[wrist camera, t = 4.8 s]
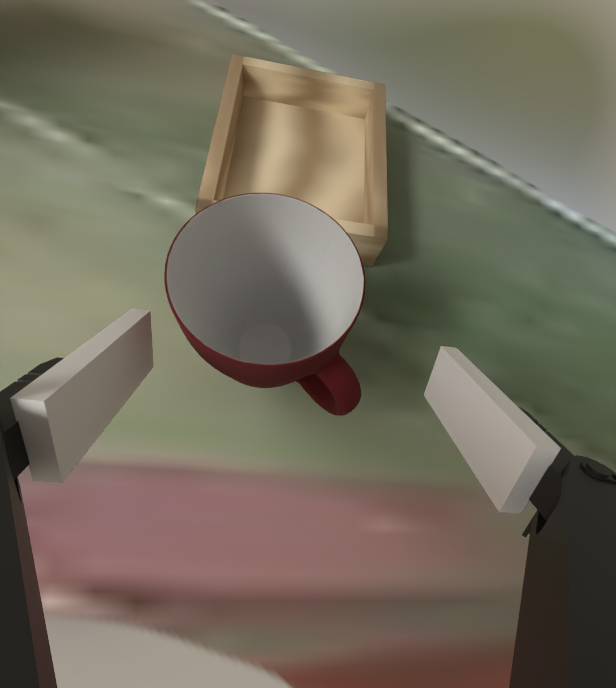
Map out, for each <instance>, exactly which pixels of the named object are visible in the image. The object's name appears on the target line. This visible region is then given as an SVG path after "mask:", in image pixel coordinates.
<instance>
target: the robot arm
mask: <svg viewBox="0 0 616 688" xmlns="http://www.w3.org/2000/svg"><path fill="white" fill-rule="evenodd" d="M152 368H153V351H152V332H151V314H150V311H148V310H140V309H130V310H129V311H128V312H126V313H125V314H123V315H122V316H121V317H119V318H118V319H117V320H115V321H114V322H113V323H111V324H110V325H109V326H107V327H106V328H104V329H103V330H102V331H100V332H99V333H98V334H96V335H95V336H94V337H92V338H91V339H90V340H88V341H87V342H85V343H84V344H83V345H81V346H80V347H79V348H77V349H76V350H75V351H73V352H72V353H71V354H69V355H68V356H67V357H65V358H55V359H52V360H50V361H47V362H45V363H42V364H40V365H38V366H37V367H35V368H34V369H33V370H31V371H30V372H28V374H27V375H26V374H25V375H24V376H22V377H21V378H20V379H18V381H17V382H14V383H12V384H11V385H9V386H8V387H7V388H5V389H4V390H2V391H1V392H0V688H57V684H56V678H55V673H54V667H53V662H52V657H51V652H50V646H49V640H48V635H47V630H46V624H45V619H44V613H43V608H42V602H41V597H40V592H39V586H38V581H37V575H36V570H35V564H34V559H33V554H32V548H31V543H30V537H29V532H28V527H27V521H26V516H25V510H24V505H23V499H22V494H21V489H20V484H19V481H18V477H17V476H18V475H19V474H20V473H21V472H22V471H23V470H24V469H25V468H26V467H27V466H28V465H29V468H30V472H31V476H32V479H33V481H44V482H59V483H63V481H64V480H65V479H66V477H67V476H68V475H69V474H70V472H71V471H72V470H73V469H74V467H75V466H76V465H77V463H78V462H79V461H80V460H81V458H82V457H83V456H84V455H85V453H86V452H87V451H88V449H89V448H90V447H91V446H92V444H93V443H94V442H95V441H96V439H97V438H98V437H99V435H100V434H101V433H102V432H103V430H104V429H105V428H106V427H107V425H108V424H109V423H110V421H111V420H112V419H113V418H114V416H115V415H116V414H117V413H118V411H119V410H120V409H121V407H122V406H123V405H124V404H125V402H126V401H127V400H128V399H129V397H130V396H131V395H132V393H133V392H134V391H135V390H136V388H137V387H138V386H139V385H140V383H141V382H142V381H143V379H144V378H145V377H146V376H147V374H148V373H149V372H150V371H151V369H152ZM424 396H425V398H426V399H427V401H428V402H429V404H430V406H431V407H432V409H433V410H434V412H435V413H436V415H437V416H438V418H439V420H440V421H441V423H442V424H443V426H444V427H445V429H446V431H447V432H448V434H449V435H450V437H451V438H452V440H453V441H454V443H455V445H456V446H457V448H458V449H459V451H460V452H461V454H462V455H463V457H464V459H465V460H466V462H467V463H468V465H469V466H470V468H471V469H472V471H473V473H474V474H475V476H476V477H477V479H478V480H479V482H480V483H481V485H482V487H483V488H484V490H485V491H486V493H487V494H488V496H489V497H490V499H491V501H492V502H493V504H494V505H495V507H496V508H497V510H498V511H499V512H502V513H516V514H521V513H522V512H523V510H524V508H525V507H526V505H527V503H528V502H529V500H530V501H531V502H532V504H533V505H534V506H535V507H536V509H537V512H536V513H535V515H534V516H533V518H532V520H531V521H530V523H529V524H528V526H527V527H526V529H525V531H524V532H523V534H522V535H523V536H524V537H526V536H527V535H528V534H529V533H530V538H529V546H528V553H527V560H526V568H525V575H524V582H523V590H522V597H521V605H520V612H519V619H518V627H517V634H516V641H515V649H514V656H513V663H512V671H511V678H510V686H509V688H616V473H615V472H613V471H612V470H611V469H609V468H608V467H606V466H605V465H603V464H601V463H599V462H597V461H595V460H592V459H589V458H587V457H582V456H574V455H573V454H572V453H570V452H569V451H568V450H567V449H566V448H565V447H564V446H563V445H562V444H561V443H560V442H559V441H558V440H557V439H556V438H555V437H554V436H552V435H551V434H550V433H549V432H547V431H546V429H545V428H544V427H543V426H542V425H541V424H538V421H537V420H535V419H534V418H533V417H532V416H531V415H530V414H529V413H528V412H526V411H525V410H523V409H522V408H520V407H518V406H517V405H515V404H514V403H513V402H512V401H511V400H510V399H509V398H508V397H507V396H506V395H505V394H504V393H503V392H502V391H501V390H500V389H499V388H498V387H497V386H496V385H495V384H494V383H493V382H492V381H490V380H489V379H488V378H487V377H486V376H485V375H484V374H483V373H482V372H481V371H480V370H479V369H478V368H477V367H476V366H475V365H474V364H473V363H472V362H471V361H470V360H469V359H468V358H467V357H465V356H464V355H463V354H462V353H461V352H460V351H459V350H458V349H457V348H454V347H446V346H441V347H440V350H439V353H438V356H437V359H436V362H435V364H434V367H433V370H432V373H431V376H430V379H429V381H428V384H427V387H426V390H425V393H424Z"/></svg>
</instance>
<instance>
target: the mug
mask: <svg viewBox="0 0 616 688" xmlns="http://www.w3.org/2000/svg"><path fill="white" fill-rule="evenodd" d="M165 289H166V293H167V297H168V301H169V304H170V307H171V309H172V311H173V313H174V315H175V317H176V319H177V321H178V323H179V325H180V327H181V329H182V331H183V333H184V334H185V336H186V338H187V339H188V341H189V342H190V344H191V345H192V346H193V348H194V349H195V350H196V351H197V352H198V354H199V355H200V356H201V357H202V358H203V359H204V360H205V361H206V362H208V363H209V364H210V365H211V366H213V367H214V368H215V369H217V370H218V371H220V372H222V373H223V374H225V375H227V376H229V377H231V378H232V379H234V380H236V381H238V382H240V383H243V384H245V385H249V386H252V387H259V388H272V387H278V386H282V385H286V384H289V383H291V382H294V381H297V382H298V383H299V384H300V385H301V386H302V387H303V388H304V390H305V391H306V392H307V393H308V394H309V395H310V397H311V398H312V399H313V400H314V401H315V402H316V403H317V404H318V405H320V406H321V407H322V408H323V409H325V410H326V411H328V412H329V413H331V414H334V415H345V414H348V413H349V412H351V411H352V410H353V409H354V408H355V407H356V406H357V405H358V403H359V401H360V398H361V389H360V384H359V381H358V379H357V377H356V375H355V373H354V372H353V370H352V369H351V367H350V366H349V365H348V363H347V362H346V361H345V360H344V359H343V358H342V357H341V356H340V355H339V349H340V347H341V345H342V343H343V341H344V340H345V338H346V336H347V335H348V333H349V331H350V330H351V328H352V326H353V325H354V323H355V321H356V319H357V317H358V315H359V313H360V310H361V307H362V304H363V299H364V294H365V273H364V268H363V263H362V260H361V257H360V254H359V252H358V250H357V248H356V246H355V244H354V242H353V241H352V239H351V238H350V236H349V235H348V233H347V232H346V231H345V230H344V229H343V227H342V226H341V225H340V224H339V223H338V222H337V221H335V220H334V219H333V218H332V217H331V216H329V215H328V214H327V213H325V212H324V211H322V210H321V209H319V208H317V207H316V206H314V205H312V204H310V203H307V202H305V201H303V200H300V199H297V198H294V197H290V196H286V195H281V194H275V193H246V194H240V195H235V196H231V197H228V198H225V199H222V200H219V201H217V202H215V203H213V204H211V205H209V206H207V207H205V208H204V209H202V210H201V211H199V212H198V213H197V214H195V215H194V216H193V217H192V218H191V219H190V220H189V221H188V222H187V223H186V224H185V225H184V226H183V227H182V228H181V230H180V231H179V232H178V234H177V235H176V237H175V239H174V240H173V242H172V245H171V247H170V249H169V252H168V255H167V259H166V264H165Z"/></svg>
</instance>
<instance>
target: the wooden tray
mask: <svg viewBox="0 0 616 688" xmlns="http://www.w3.org/2000/svg"><path fill="white" fill-rule="evenodd" d="M246 193H275V194H281V195H286V196H290V197H294V198H297V199H300V200H303V201H305V202H307V203H310V204H312V205H314V206H316V207H317V208H319V209H321V210H322V211H324V212H325V213H327V214H328V215H329V216H331V217H332V218H333V219H334V220H335V221H337V222H338V223H339V224H340V225H341V226H342V227H343V229H344V230H345V231H346V232H347V233H348V235H349V236H350V238H351V239H352V241H353V242H354V244H355V246H356V248H357V250H358V252H359V254H360V257H361V260H362V263H363V266H369V267H372V266H373V264H374V262H375V261H376V259H377V257H378V255H379V254H380V252H381V250H382V248H383V247H384V245H385V243H386V241H387V240H388V213H387V157H386V101H385V85H384V84H379V83H374V82H369V81H364V80H359V79H354V78H349V77H345V76H340V75H335V74H330V73H325V72H320V71H315V70H310V69H305V68H300V67H295V66H290V65H285V64H280V63H275V62H270V61H265V60H260V59H255V58H250V57H245V56H240V55H235V54H232V55H231V59H230V64H229V68H228V72H227V76H226V81H225V85H224V89H223V93H222V98H221V102H220V106H219V111H218V115H217V119H216V123H215V128H214V132H213V136H212V140H211V145H210V149H209V153H208V158H207V162H206V166H205V170H204V175H203V179H202V183H201V187H200V192H199V196H198V200H197V205H196V209H195V211H196V214H197V213H198V212H199V211H201V210H202V209H204V208H205V207H207V206H209V205H211V204H213V203H215V202H217V201H219V200H222V199H225V198H228V197H231V196H235V195H240V194H246Z"/></svg>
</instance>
